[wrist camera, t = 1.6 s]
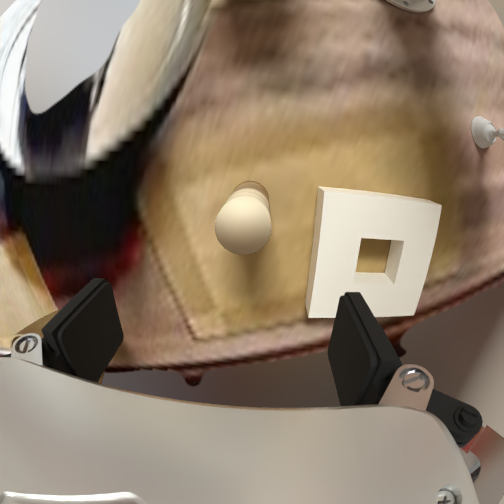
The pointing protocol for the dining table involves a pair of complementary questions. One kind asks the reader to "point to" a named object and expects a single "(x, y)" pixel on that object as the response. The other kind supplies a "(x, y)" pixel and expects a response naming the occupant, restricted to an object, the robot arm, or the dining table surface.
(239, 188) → the peg
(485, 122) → the chalice
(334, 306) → the socket
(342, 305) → the robot arm
